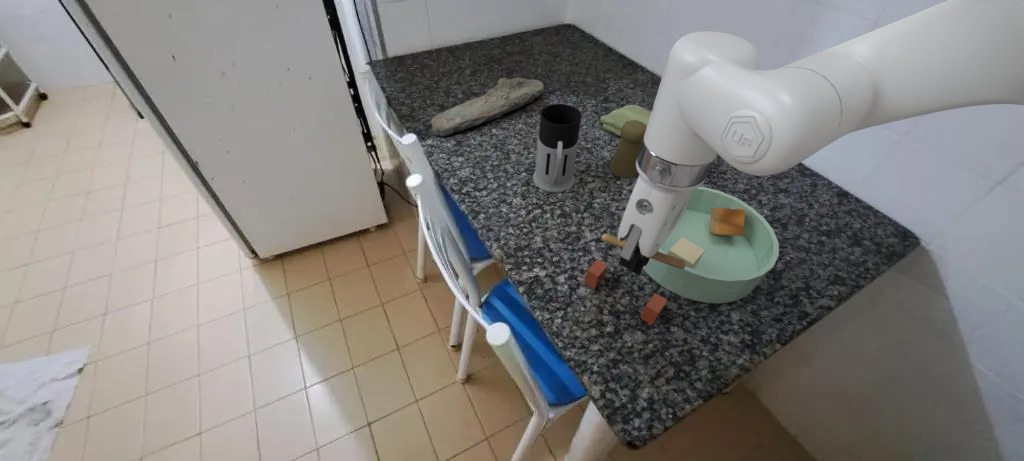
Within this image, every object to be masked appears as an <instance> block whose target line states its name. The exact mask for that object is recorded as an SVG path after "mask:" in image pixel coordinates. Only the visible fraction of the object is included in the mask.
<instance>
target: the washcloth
mask: <svg viewBox="0 0 1024 461" xmlns="http://www.w3.org/2000/svg"><path fill="white" fill-rule="evenodd" d="M651 112H652V111H650V110H648V109H646V108H644V107H641V106H639V105H638V104H637V105H636V104H627V105H624V106H623V107H621V108H616V109H614V110H612V111H611V112H610V113H609V114H606V115H602V116H601V117H600V118H599V120H600V123H602V129H603V130H604V131H607V132H608V133H609V132H610V133H611V134H614V135H615V136H618V137H621V128H622V126H623V124H624V123H625V122H627V121H630V120H637V121H641V122H643V123H644V124H645V125H646V126H647V125H648V122H649V118H650V115H651Z"/></svg>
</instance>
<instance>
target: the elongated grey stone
mask: <svg viewBox="0 0 1024 461" xmlns="http://www.w3.org/2000/svg"><path fill="white" fill-rule="evenodd" d="M544 90H545V86H544V82H542V81H540V80H539V79H533V78H532V79H529V78H528V79H527V78H523V77H513V78H507V77H501V78H499V79H498V81H497V84H496V85H495V86H494V87H493V88H490V89H489V90H487V92H486V93H485V94H484V95H480V97H475V98H472V99H469V100H466V101H465V102H464V103H460V104H458V105H455V106H453V107H451V108H449V109H447V110H445V111H442V112H439V113H436V114H435V116H434V117H432V119H430V125H431V131H432V133H433V134H434V135H436V136H439V137H443V138H444V137H447V136H449V135H452V134H455V133H457V132H458V133H459V132H463V131H464V130H467V129H470V128H472V127H477V126H478V127H479V126H480V125H481V124H483V123H486V122H490V121H492V120H496V119H499V118H500V117H502V116H503V115H504V114H507V113H510V112H512V111H516V110H517V109H520V108H521V107H523V106H526V105H528V104H531V103H532V102H534V101H535V99H537V98H539V97H540V96H541V95H542V94H543V93H544Z"/></svg>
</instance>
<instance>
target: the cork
mask: <svg viewBox="0 0 1024 461" xmlns="http://www.w3.org/2000/svg"><path fill="white" fill-rule="evenodd" d="M646 128H647V126H646V125H645V124H644V123H643V122H641V121H637V120H630V121H627V122H625V123H624V124H623V126H622V128H621V136H620V137H621V138H620V140H619V143H618V145H617V148H616V150H615V152H614V155H613V157H612V159H611V161H610V165H609V170H610V171H611V173H613V174H614V175H616V176H617V177H620V178H626V179H627V178H633V177H635V176H637V175H638V174H639V172H638V171H637V168H636V161H637V157H638V154H639V151H640V148H641V145H642V141H643V138H644V135H645V131H646Z"/></svg>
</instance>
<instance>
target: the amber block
mask: <svg viewBox="0 0 1024 461" xmlns="http://www.w3.org/2000/svg"><path fill="white" fill-rule="evenodd" d="M744 217H745V210H743V209H726V208H712V211H711V221H710V231H709V233H713V234H719V235H734V236H743V227H744Z"/></svg>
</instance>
